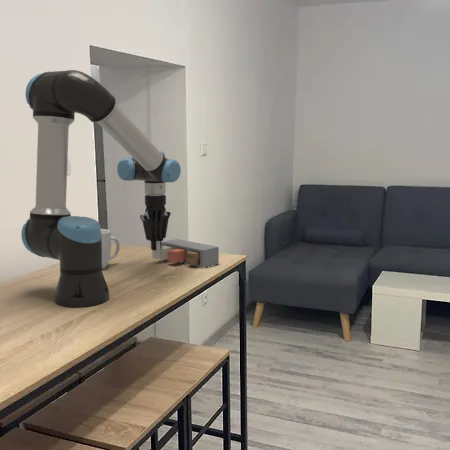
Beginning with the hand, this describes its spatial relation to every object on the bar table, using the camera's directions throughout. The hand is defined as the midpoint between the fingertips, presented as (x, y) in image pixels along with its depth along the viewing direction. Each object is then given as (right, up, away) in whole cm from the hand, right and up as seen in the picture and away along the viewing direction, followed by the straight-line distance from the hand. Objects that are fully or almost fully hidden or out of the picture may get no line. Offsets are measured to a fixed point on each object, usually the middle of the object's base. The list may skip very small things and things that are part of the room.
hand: (156, 258), depth 203 cm
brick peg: (+9, -1, 0) cm, 9 cm away
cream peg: (+4, 0, +5) cm, 6 cm away
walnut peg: (+16, -1, -3) cm, 16 cm away
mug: (-20, -3, -6) cm, 21 cm away
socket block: (+12, -1, +3) cm, 12 cm away
